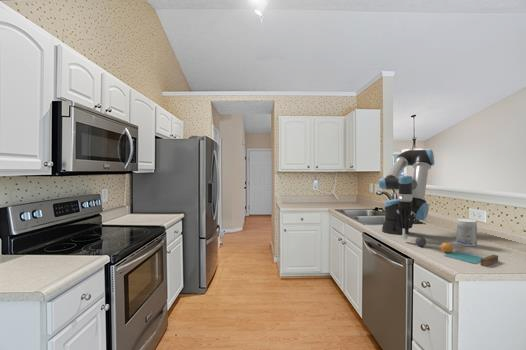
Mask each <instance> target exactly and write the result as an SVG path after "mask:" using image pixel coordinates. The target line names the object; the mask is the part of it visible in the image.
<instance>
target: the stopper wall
mask: <svg viewBox="0 0 526 350" xmlns="http://www.w3.org/2000/svg"><path fill="white" fill-rule="evenodd" d="M498 262H499V255H497V254H491V255H488V256H485V257H484V258H482V259H481V262H480V266H481V267H489V266H490V265H491V266H492V265H493V264H496V263H498Z"/></svg>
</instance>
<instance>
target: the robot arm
mask: <svg viewBox="0 0 526 350" xmlns="http://www.w3.org/2000/svg"><path fill="white" fill-rule="evenodd" d="M408 166H412V167H413V169H414V171H413V176H412V175H402V173H403V171H404V169H406V168H407V167H408ZM432 166H435V155H434V152H433V150H432V149H408V150H405V151H403V152H401V153H399V154H398V155H397V156H396V157H395V159H394V160H393V165H392V167H391V168H390V169H389V171H388V173H387V175H386V176H385V177H381V178H380V179H379V182H378V186H379V188H380V190H381V189H383V190H395V191H396V190H397V191H398V198H397V199H396V198H395V199H387V200H386V201H384V221H383V225H382V227H381V232H383V233H385V234H391V235H402V240H408V235H409V233H410V231H409V230H410V229H412V228H413V226H414V221H424V220H426V219H427V218H428V215H429V207H430V206H429V203H427V200H426V199H425V198H426V197H425V195H426V190H427V180H428V173H429V170H431V169H432Z"/></svg>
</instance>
